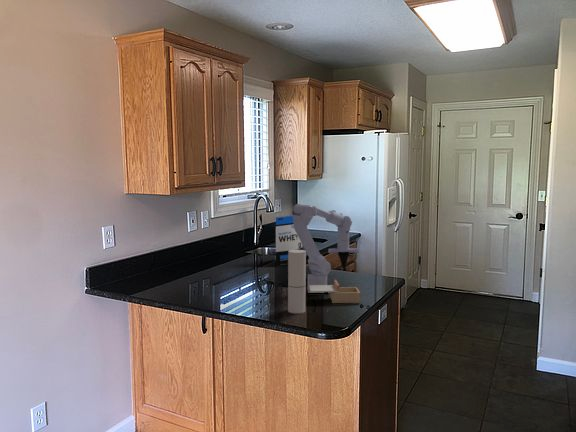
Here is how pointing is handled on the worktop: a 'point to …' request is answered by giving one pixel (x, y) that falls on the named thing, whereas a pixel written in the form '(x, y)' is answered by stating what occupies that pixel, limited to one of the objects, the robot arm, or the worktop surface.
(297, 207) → the robot arm
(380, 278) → the worktop surface
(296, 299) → the cylindrical container
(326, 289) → the mailer lid
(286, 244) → the protein powder
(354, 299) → the box
